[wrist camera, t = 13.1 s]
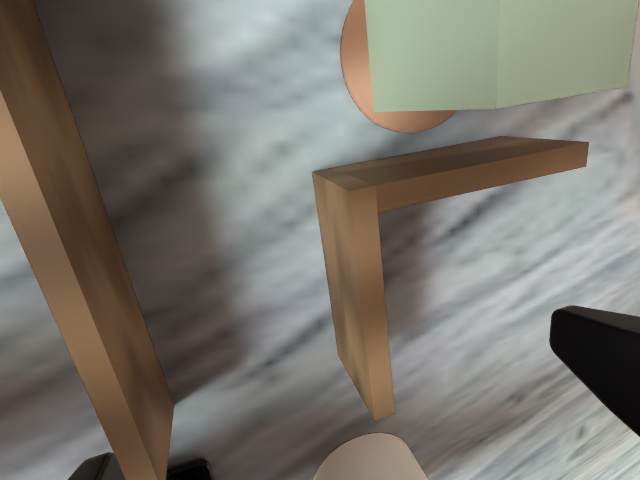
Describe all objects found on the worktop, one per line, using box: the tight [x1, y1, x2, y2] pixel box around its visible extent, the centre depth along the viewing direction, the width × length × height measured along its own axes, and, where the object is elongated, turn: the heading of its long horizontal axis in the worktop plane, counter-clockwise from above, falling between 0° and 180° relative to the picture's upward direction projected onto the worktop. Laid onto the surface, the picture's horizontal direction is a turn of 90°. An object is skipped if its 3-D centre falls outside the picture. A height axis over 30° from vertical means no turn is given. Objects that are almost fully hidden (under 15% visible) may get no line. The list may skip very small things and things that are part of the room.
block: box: [365, 0, 639, 112], centre depth 13 cm, size 4×4×8 cm
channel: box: [0, 0, 589, 480], centre depth 15 cm, size 20×20×5 cm
